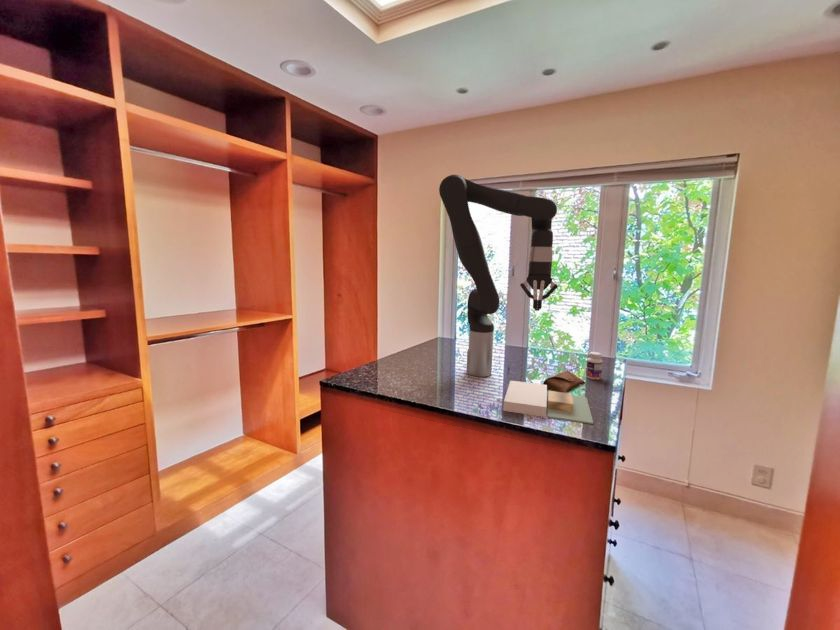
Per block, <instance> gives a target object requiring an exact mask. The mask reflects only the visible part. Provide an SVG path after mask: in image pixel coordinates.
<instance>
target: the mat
mask: <svg viewBox="0 0 840 630" xmlns="http://www.w3.org/2000/svg"><path fill="white" fill-rule="evenodd" d="M572 398H573V412H568V411H561V410H554V409H548V408H547V418H551V419H557V420H562V421H563V420H564V421H571V422H576V423H581V424H583V423H584V424H590V425H593V424H594V420H593V416H592V413H591V412H592V411H591V409H590V405H589V402H588V398H587V397H585V396H580V395H572Z"/></svg>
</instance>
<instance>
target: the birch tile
mask: <svg viewBox="0 0 840 630" xmlns="http://www.w3.org/2000/svg"><path fill="white" fill-rule="evenodd" d="M572 396H573V394H572V393H569V392H567V393H562V392H557V391H553V390H548V392H547V406H546V409H547V410H548V409H554V410H561V411H568V412H573V398H572Z"/></svg>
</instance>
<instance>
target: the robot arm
mask: <svg viewBox="0 0 840 630" xmlns="http://www.w3.org/2000/svg"><path fill="white" fill-rule="evenodd" d="M438 192H439V197H440V199H441V201H442V203H443V206H444V209H445V211H446V214H447V216H448V218H449V222H450V227H451V231H452V232H451V233H452V235H453V236H452V237H453V240H454V244H455V248H456V251H457V255H458V258H459V260H460V263H461V264H462V267H464V269H465V270H466V271H467V273H468V274H469V275H470V277H471V279H472V280H473V283H474V286H475V288H474V289H472V290H471V291H470V293H469V294H468V298H467V323H468V326H469V330H468V331H469V332H468V334H469V335H468V349H467V351H466V353H467V354H466V373H465V374H466V375H470V376H473V377H480V378H483V377H489V376H491V375H492V372H493V371H492V370H493V368H492V367H493V349H494V332H495V331H494V329H495V325H494V323H493V322H492V321H491V320H490V318H489V316H488V315H493V314H495V313H496V312H497V311H498V310H499V307H500V297H499V294H498V293H499V292H498V290H497V288H496V285H495V283H494V280H493V278H492V275H491V271H490V268H489V264H488V261H487V258H486V253H485V250H484V246H483V242H482V239H481V236H480V233H479V230H478V228H477V225H476V224H475V222H474V219H473V217H472V214H471V212H470V207H469V203H473V204H478V205H482V206H485V207H487V208H489V209H492V210H495V211H498V212H501V213H505V214H507V215H508V214H509V215H512V216H518V217H528V218H531V241H530V250H529V257H528V259H529V260H528V270H527V271H528V273H527V275H528V276H527V277H526V280H524V281H523V282H521V283H520V285H519V286H520V287H521V288H522V290H523V291H524V293H525V294H526V296H527V297H528V298H529V299H532V301H533V303H532V309H534V311H536V312H539V311H540V310H541V309H542V305H543V304H542V303H543V300H545V299H548V298H549V297H550V296H551V295H552V294H553V292H555V291H556V289H558V287H559V286H558V284H557V283H555V282H554V281H553V278H552V265H553V255H554V254H553V244H554V243H553V241H554V233H553V232H554V231H553V230H552V224H553V223H552V219H554V218H555V216H556V215H557V212H558V207H557V204H556V203H555V201H553V200H552V199H549V198H545V197H540V196H533V195H532V196H530V195H525V194H521V193H518V192H513V191H509V190H503V189H500V188H495V187H489V186H487V185H486V186H485V185H481V184H479V183H476V182H473V181H471V180H468V179H467V178H464V177H462V176H461V175H459V174H450V175H448V176H446V177H445V178H443V179H442V181H441V182H440V184H439V188H438ZM528 285H529V287H530V288H531V289H532V291H533V292H531V291H530V289H529V288H528ZM548 287H550V289H549V290H548V291H547V292H545V294H544V291H545V290H546V289H548ZM538 291H539V292H538Z"/></svg>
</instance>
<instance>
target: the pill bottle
mask: <svg viewBox="0 0 840 630" xmlns="http://www.w3.org/2000/svg"><path fill="white" fill-rule="evenodd" d="M601 357H602V353H601V352H597V351H590V352H589V357H587V359H586V369H585V377H586V378H588V379H591V380H595V379H596V380H601V378H602V373H603V372H602V371H603V363H604V361H603V359H602V358H601Z"/></svg>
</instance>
